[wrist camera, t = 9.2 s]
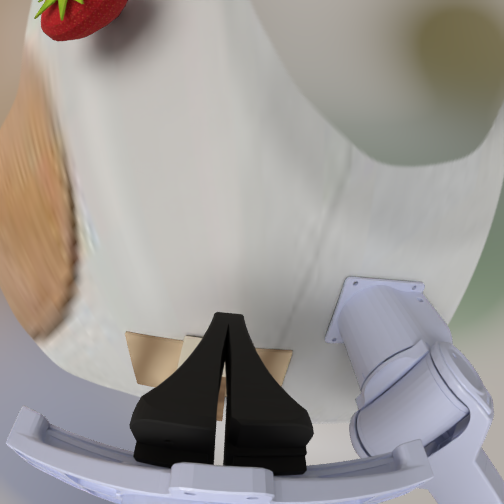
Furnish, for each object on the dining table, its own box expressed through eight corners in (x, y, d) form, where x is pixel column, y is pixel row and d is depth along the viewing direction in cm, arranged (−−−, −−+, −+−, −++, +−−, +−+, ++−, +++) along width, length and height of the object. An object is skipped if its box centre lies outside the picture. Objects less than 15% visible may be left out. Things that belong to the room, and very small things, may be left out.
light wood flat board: (292, 350, 28) (292, 352, 28) (276, 397, 33) (276, 399, 32) (126, 331, 27) (125, 333, 27) (138, 381, 31) (137, 383, 31)
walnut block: (226, 374, 23) (222, 421, 27) (229, 340, 27) (224, 390, 31) (177, 368, 23) (182, 416, 27) (184, 335, 27) (187, 386, 31)
